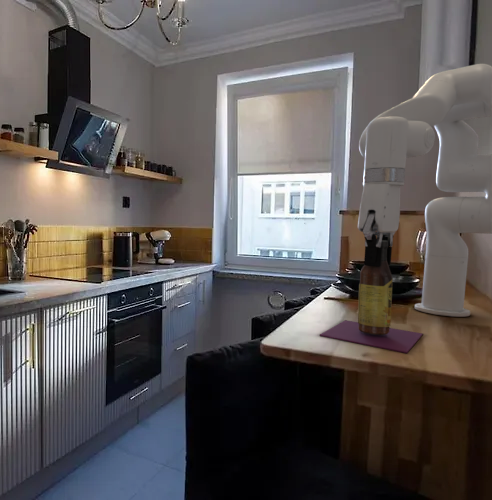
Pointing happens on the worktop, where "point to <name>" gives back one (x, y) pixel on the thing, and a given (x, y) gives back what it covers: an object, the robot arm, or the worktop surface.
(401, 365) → the worktop surface
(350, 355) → the worktop surface
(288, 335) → the worktop surface
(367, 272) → the sauce bottle
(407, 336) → the cloth
